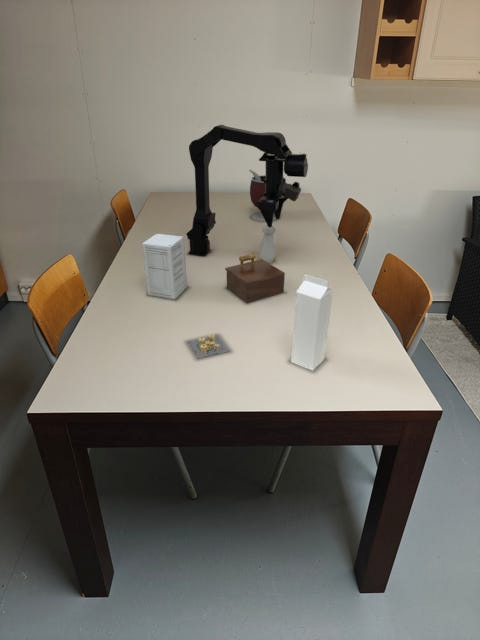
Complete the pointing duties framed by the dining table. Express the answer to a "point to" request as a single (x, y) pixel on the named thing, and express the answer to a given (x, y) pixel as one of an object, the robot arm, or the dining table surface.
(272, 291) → the tea box
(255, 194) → the mate gourd
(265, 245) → the salt shaker
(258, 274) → the tea lid
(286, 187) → the robot arm
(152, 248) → the supplement box
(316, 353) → the milk
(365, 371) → the dining table surface
